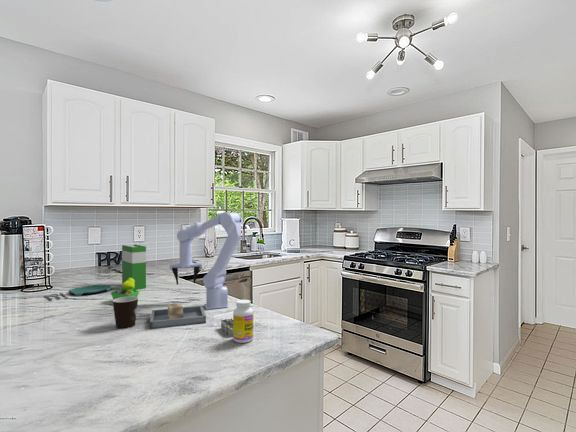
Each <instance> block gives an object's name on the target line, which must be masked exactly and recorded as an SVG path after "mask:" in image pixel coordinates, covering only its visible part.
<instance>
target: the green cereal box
mask: <svg viewBox="0 0 576 432" xmlns="http://www.w3.org/2000/svg"><path fill="white" fill-rule="evenodd" d="M121 247H122V248H121V269H122V270H121V273H122V274H121V277H122V280H121V283H122V284H123V283H124V282H125V281H126V280H127V279H128V278H133V279H134V281H135V283H134V284H135V287H134V289H133V290H136V291H139V290H145V288H146V289H147V246H144V245H141V244H133V245H123V244H122V245H121ZM122 284H121V285H122ZM138 289H139V290H138Z"/></svg>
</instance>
